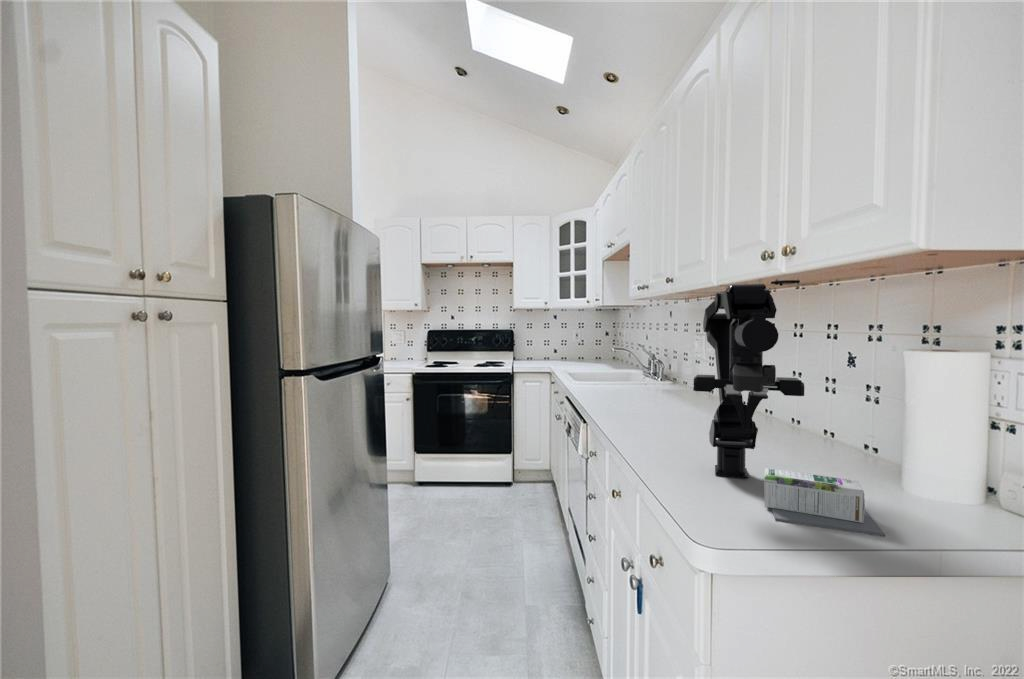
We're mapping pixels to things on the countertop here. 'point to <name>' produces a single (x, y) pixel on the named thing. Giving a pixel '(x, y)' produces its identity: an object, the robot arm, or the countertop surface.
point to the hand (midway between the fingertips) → (745, 428)
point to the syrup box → (814, 494)
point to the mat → (829, 522)
